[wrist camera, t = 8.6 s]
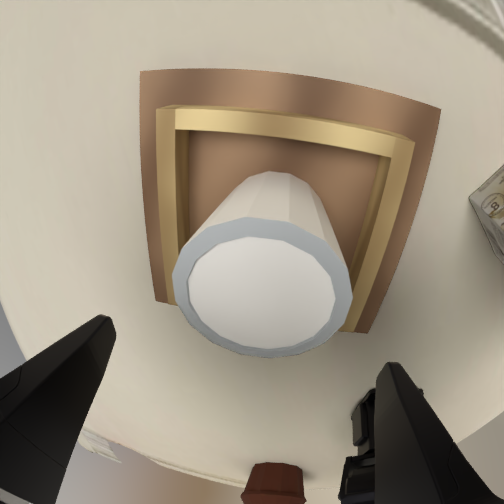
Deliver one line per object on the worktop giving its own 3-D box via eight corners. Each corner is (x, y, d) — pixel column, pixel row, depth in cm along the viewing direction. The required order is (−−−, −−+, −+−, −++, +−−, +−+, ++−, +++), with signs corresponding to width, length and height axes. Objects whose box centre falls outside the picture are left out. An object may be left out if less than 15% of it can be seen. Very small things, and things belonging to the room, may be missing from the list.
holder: (433, 107, 13) (458, 114, 10) (365, 324, 21) (371, 354, 19) (148, 71, 14) (121, 72, 12) (160, 292, 23) (145, 318, 20)
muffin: (285, 479, 47) (280, 521, 39) (236, 467, 46) (226, 512, 37) (322, 467, 41) (318, 517, 32) (266, 455, 39) (257, 510, 31)
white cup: (204, 166, 16) (147, 226, 10) (333, 155, 14) (357, 212, 9) (226, 271, 19) (196, 357, 13) (335, 267, 18) (346, 358, 12)
